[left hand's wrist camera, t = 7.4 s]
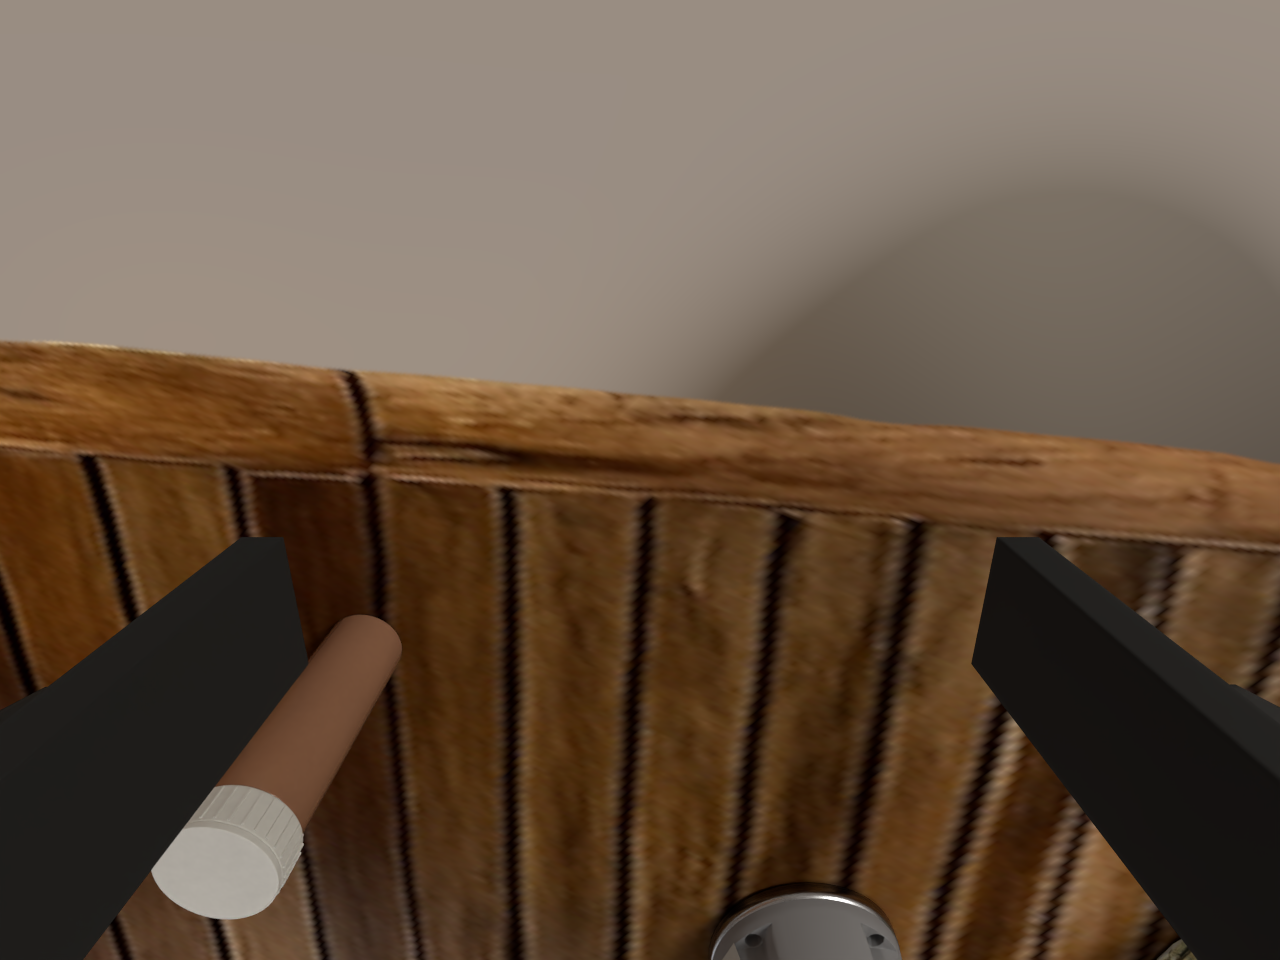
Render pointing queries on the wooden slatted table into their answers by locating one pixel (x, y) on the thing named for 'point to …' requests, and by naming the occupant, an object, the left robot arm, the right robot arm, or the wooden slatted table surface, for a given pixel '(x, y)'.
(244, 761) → the brown bottle
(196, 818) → the lid
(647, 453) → the wooden slatted table surface
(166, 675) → the left robot arm
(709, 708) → the wooden slatted table surface
